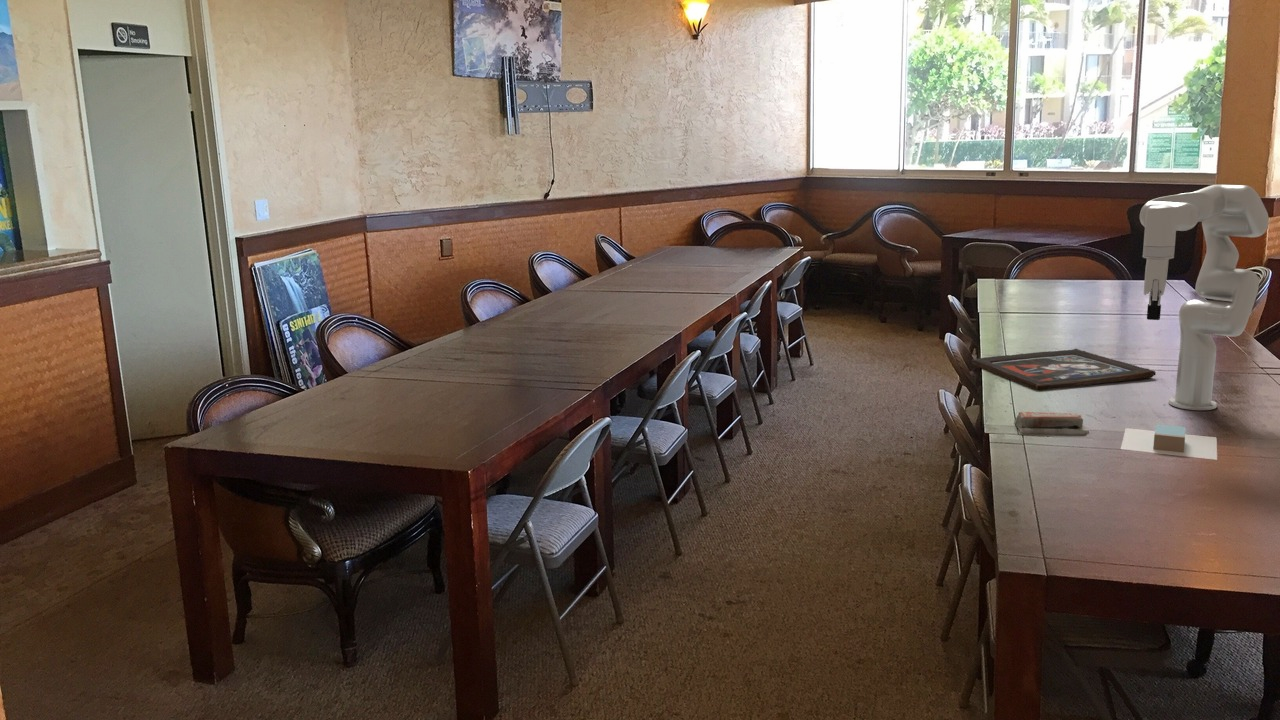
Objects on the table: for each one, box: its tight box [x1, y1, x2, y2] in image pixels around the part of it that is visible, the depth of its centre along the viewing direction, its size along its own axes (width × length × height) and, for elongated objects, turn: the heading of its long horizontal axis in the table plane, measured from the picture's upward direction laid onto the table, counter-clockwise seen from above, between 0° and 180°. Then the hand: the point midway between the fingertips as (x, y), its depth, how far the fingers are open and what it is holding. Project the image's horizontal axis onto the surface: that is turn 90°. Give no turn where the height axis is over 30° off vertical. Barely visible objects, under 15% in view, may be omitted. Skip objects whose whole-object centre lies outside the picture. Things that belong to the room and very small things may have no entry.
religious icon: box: [971, 348, 1156, 391], centre depth 349 cm, size 40×45×3 cm
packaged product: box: [1014, 411, 1090, 435], centre depth 287 cm, size 18×5×10 cm
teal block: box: [1153, 423, 1187, 453], centre depth 268 cm, size 4×7×10 cm
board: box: [1120, 427, 1218, 461], centre depth 270 cm, size 20×22×1 cm
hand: (1153, 319), depth 279 cm, fingers closed
